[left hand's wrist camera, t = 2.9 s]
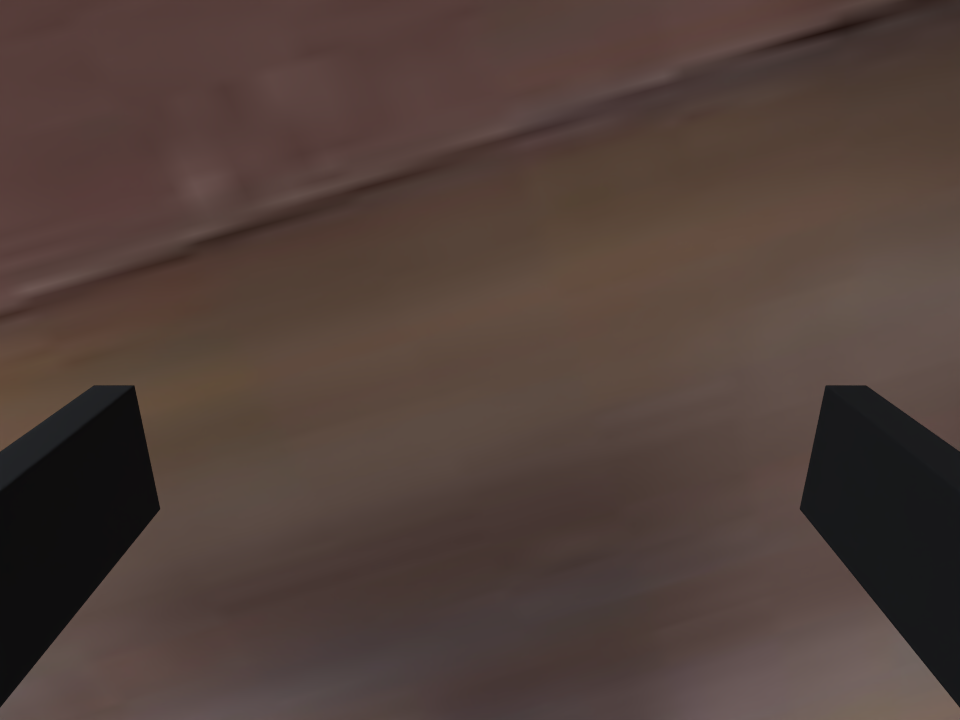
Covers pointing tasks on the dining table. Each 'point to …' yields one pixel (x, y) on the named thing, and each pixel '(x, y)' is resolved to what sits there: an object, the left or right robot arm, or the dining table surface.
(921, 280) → the dining table surface
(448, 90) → the dining table surface
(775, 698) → the dining table surface
